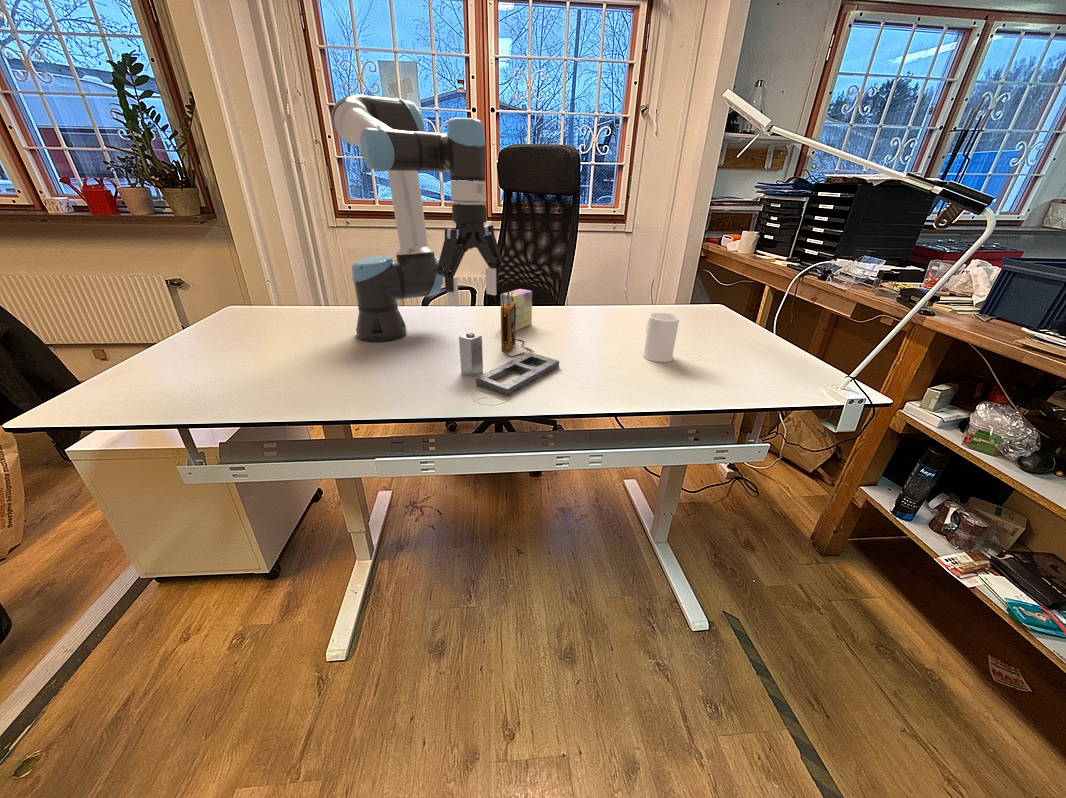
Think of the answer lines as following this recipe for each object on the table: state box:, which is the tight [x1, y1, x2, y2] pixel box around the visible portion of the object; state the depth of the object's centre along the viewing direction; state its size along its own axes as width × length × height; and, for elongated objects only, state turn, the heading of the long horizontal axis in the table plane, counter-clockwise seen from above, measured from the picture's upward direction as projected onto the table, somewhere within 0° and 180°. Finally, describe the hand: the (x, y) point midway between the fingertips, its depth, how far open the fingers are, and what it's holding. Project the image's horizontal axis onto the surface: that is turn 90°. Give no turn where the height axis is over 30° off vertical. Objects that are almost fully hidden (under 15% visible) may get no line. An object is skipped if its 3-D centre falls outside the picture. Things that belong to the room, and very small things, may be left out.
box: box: [500, 288, 533, 331], centre depth 142 cm, size 10×6×12 cm, turn 144°
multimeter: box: [500, 278, 535, 357], centre depth 122 cm, size 15×10×20 cm
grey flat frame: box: [475, 351, 560, 397], centre depth 108 cm, size 10×22×2 cm, turn 144°
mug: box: [642, 312, 680, 363], centre depth 121 cm, size 12×8×12 cm
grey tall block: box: [458, 332, 484, 378], centre depth 108 cm, size 4×4×10 cm
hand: (473, 299), depth 102 cm, fingers open, 13 cm apart
